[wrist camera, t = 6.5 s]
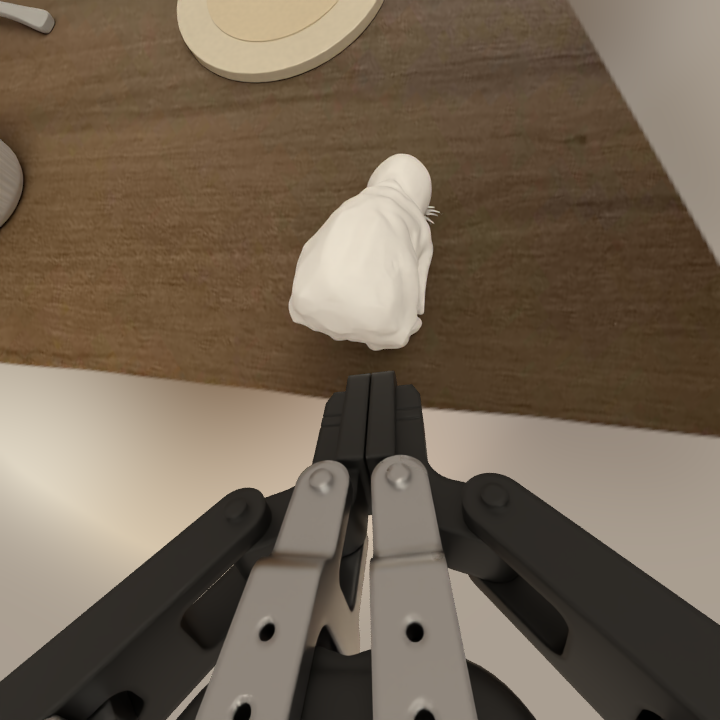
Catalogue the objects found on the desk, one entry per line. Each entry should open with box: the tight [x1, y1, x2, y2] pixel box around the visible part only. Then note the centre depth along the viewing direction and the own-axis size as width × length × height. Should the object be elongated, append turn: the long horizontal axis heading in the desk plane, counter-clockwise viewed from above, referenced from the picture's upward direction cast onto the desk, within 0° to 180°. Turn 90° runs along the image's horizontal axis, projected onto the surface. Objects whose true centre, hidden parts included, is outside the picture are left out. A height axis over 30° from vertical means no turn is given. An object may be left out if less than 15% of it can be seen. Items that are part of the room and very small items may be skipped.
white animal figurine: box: [289, 154, 440, 351], centre depth 20 cm, size 6×8×12 cm
